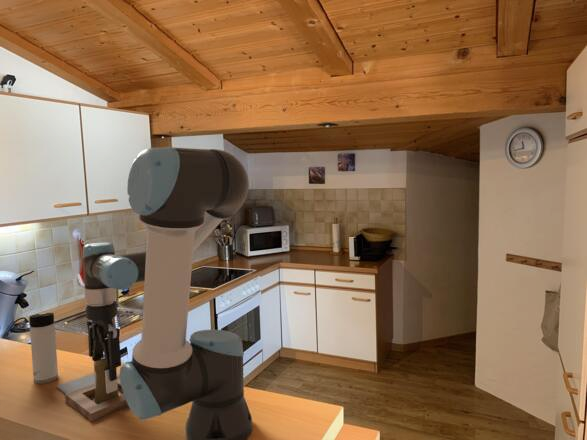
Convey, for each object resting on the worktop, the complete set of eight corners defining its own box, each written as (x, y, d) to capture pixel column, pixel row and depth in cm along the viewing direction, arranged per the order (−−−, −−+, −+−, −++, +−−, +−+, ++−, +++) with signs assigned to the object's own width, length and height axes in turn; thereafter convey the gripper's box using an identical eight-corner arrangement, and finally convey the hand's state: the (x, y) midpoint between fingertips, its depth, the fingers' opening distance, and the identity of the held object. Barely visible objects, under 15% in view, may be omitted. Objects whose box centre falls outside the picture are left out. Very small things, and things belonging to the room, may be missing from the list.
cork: (122, 393, 119) (120, 354, 118) (114, 405, 113) (111, 364, 112) (100, 394, 119) (97, 355, 118) (90, 405, 113) (88, 364, 112)
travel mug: (32, 386, 124) (27, 317, 122) (35, 376, 130) (30, 311, 128) (57, 381, 127) (52, 314, 125) (58, 372, 133) (54, 308, 131)
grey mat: (116, 380, 127) (116, 378, 127) (70, 397, 117) (69, 395, 117) (102, 371, 133) (102, 370, 133) (56, 387, 123) (56, 385, 123)
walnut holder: (147, 397, 117) (147, 390, 117) (91, 421, 106) (90, 413, 105) (120, 381, 127) (119, 374, 126) (65, 401, 115) (65, 394, 115)
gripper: (133, 305, 110) (137, 393, 112) (99, 293, 122) (103, 372, 125) (104, 312, 105) (109, 404, 107) (71, 299, 117) (76, 382, 119)
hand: (106, 387), depth 116 cm, fingers open, 6 cm apart
